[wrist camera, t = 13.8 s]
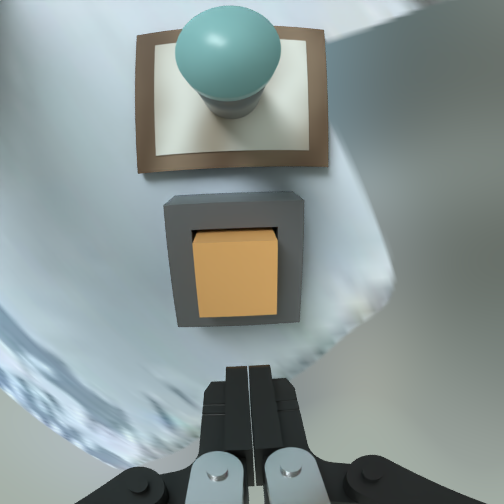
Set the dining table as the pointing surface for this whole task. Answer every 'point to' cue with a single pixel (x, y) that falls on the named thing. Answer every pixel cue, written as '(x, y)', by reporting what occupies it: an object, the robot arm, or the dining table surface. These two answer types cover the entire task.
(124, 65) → the dining table surface
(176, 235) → the button housing
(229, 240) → the button
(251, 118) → the board
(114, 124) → the dining table surface
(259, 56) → the marker
